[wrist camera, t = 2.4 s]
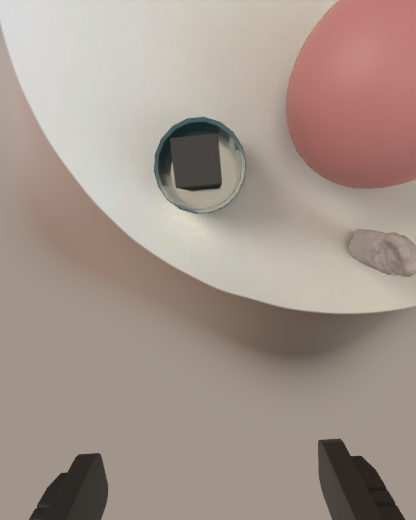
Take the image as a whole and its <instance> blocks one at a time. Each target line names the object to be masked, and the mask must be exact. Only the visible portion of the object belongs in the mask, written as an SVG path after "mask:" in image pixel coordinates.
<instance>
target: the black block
mask: <svg viewBox="0 0 416 520" xmlns="http://www.w3.org/2000/svg"><path fill="white" fill-rule="evenodd" d="M170 144H171V153H172V161H173V170H174V178H175V187H176V188H179V189H184V190H194V189H204V188H214V187H220V186H221V184H222V176H221V164H220V152H219V140H218V133H213V134H204V135H195V136H186V137H177V138H170Z"/></svg>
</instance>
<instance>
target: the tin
mask: <svg viewBox="0 0 416 520" xmlns="http://www.w3.org/2000/svg"><path fill="white" fill-rule="evenodd" d="M213 133H218V140H219V152H220V164H221V176H222V184H221V186H220V187H214V188H204V189H194V190H184V189H179V188H176V187H175V178H174V170H173V161H172V153H171V144H170V138H177V137H186V136H195V135H204V134H213ZM245 167H246V161H245V157H244V152H243V147H242V145H241V144H240V142H239V140H238V139H237V137H236V136H235V134H234V132H233V131H231V130H230V129H229V128H227V127H226V126H225V125H223V124H222V123H221V122H219V121H216V120H212V119H209V118H205V117H199V118H189V119H186V120H184V121H182V122H180V123H178V124H176V125H174V126H172V127H171V128H170V130H169V131H168V132H167V133H166V134H165V135H164V136H163V137H162V139H161V141H160V143H159V145H158V148H157V150H156V153H155V163H154V173H155V176H156V179H157V183H158V186H159V188H160V190H161V191H162V192H163V194H164V195H165V197H166V198H167V200H168V201H170V202H171V203H173V204H174V205H175V206H177V207H178V208H179V209H181V210H185V211H188V212H192V213H196V214H197V213H210V212H213V211H215V210H217V209H220V208H222V207H224V206H226V205H227V204H228V203H229V202H230V201H231V200H232V199H233V198H234V197H235V196H236V194H237V193H238V191H239V189H240V187H241V185H242V183H243V181H244V175H245Z"/></svg>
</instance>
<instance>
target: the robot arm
mask: <svg viewBox="0 0 416 520" xmlns="http://www.w3.org/2000/svg"><path fill="white" fill-rule="evenodd" d="M318 458H319V459H318V460H319V479H320V484H321V489H322V492H323V495H324V498H325V501H326V504H327V506H328V509H329V512H330V515H331V517H332V520H405V519H404V517H403V515H402V514H401V512H400V510H399V508H398V507H397V506H396V505H395V502H394V500H393V498H392V497H391V495H390V493H389V492H388V491H387V489H386V487H385V485H384V483H383V481H382V480H381V478H380V476H379V475H378V473H377V471H376V470H375V469H374V468H373V467H372V466H371V465H370V464H369V463H368V462H367V461H366V460H365V459H364V458H363V457H362V456H350V454H349V452H348V450H347V448H346V447H345V444H344V443H343V441H342V440H341V439H328V440H319V441H318ZM107 497H108V483H107V479H106V474H105V470H104V465H103V461H102V457H101V455H100V454H99V453H94V454H80V455H78V456H77V457H76V458H75V460H74V462H73V463H72V465H71V467H70V469H69V471H68V473H61V474H60V475H59V476H58V477H57V478H56V479H55V480H54V481H53V482H52V483H51V484H50V486H49V487H48V488H47V489H46V491H45V493H44V494H43V496H42V498H41V500H40V501H39V503H38V505H37V509H35V510H34V512H33V514H32V515H31V517H30V519H29V520H101V518H102V515H103V512H104V509H105V506H106V503H107Z"/></svg>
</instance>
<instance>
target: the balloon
mask: <svg viewBox="0 0 416 520" xmlns="http://www.w3.org/2000/svg"><path fill="white" fill-rule="evenodd" d="M286 116H287V124H288V129H289V132H290V136H291V139H292V141H293V144H294V146H295V148H296V150H297V151H298V153H299V155H300V156H301V157H302V159H303V160H304V161H305V162H306V163H307V165H308V166H309V167H310V168H312V169H313V170H314V171H315V172H316V173H318V174H319V175H321V176H322V177H324V178H326V179H328V180H330V181H332V182H335V183H338V184H341V185H344V186H349V187H355V188H382V187H388V186H394V185H398V184H402V183H405V182H408V181H411V180H414V179H416V0H338V1H337V2H336V3H335V4H334V5H333V6H332V7H331V8H330V9H329V10H328V11H327V12H326V14H325V15H324V16H323V17H322V18H321V19H320V21H319V22H318V23H317V25H316V26H315V27H314V29H313V30H312V32H311V33H310V35H309V36H308V38H307V39H306V41H305V43H304V45H303V46H302V48H301V50H300V52H299V55H298V57H297V59H296V62H295V64H294V67H293V70H292V73H291V76H290V80H289V85H288V90H287V99H286Z"/></svg>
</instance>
